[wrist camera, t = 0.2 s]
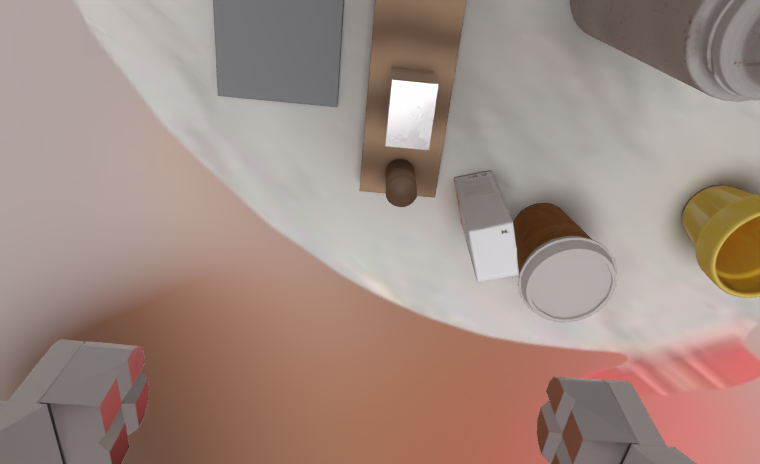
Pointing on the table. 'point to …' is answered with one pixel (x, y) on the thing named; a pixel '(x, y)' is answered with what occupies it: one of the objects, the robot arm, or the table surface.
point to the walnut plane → (389, 49)
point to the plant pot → (726, 237)
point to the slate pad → (279, 50)
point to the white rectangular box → (410, 108)
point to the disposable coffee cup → (561, 266)
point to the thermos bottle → (684, 39)
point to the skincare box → (487, 227)
